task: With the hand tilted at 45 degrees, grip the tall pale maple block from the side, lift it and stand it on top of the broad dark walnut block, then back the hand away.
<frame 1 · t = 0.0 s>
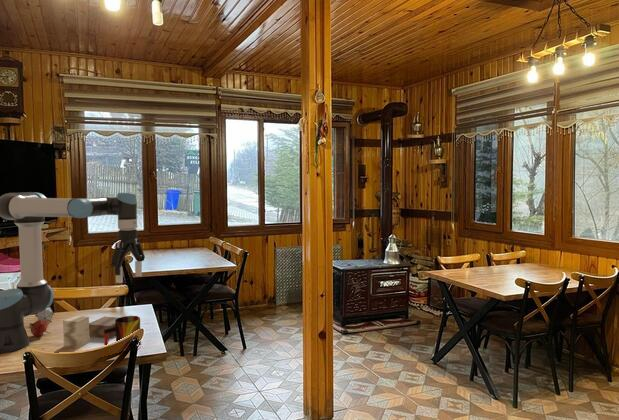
hand: (129, 279, 195), 28 cm above the table, tool pointing down, fingers open, 13 cm apart
maple block: (77, 344, 198), on the table
pomegranate: (40, 336, 209), on the table
mug: (125, 349, 192), on the table
game die: (45, 322, 228), on the table
walnut block: (107, 333, 212), on the table
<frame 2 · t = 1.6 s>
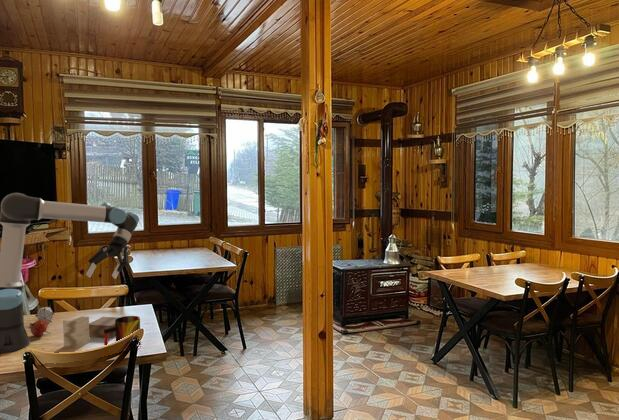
hand: (100, 276, 212), 26 cm above the table, tool tilted 45°, fingers open, 13 cm apart
nothing on the table moved.
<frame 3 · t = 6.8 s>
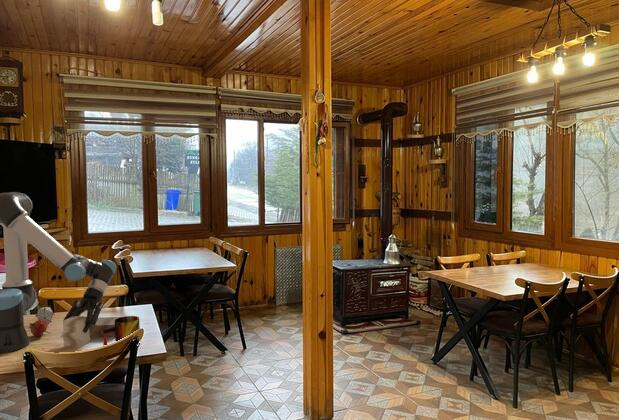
hand: (70, 338, 194), 4 cm above the table, tool tilted 45°, fingers closed on maple block, 7 cm apart
maple block: (77, 343, 198), on the table, touching gripper
when the fingers open (11 cm above the table, at t = 11.8 s): maple block drops 2 cm, resting on walnut block.
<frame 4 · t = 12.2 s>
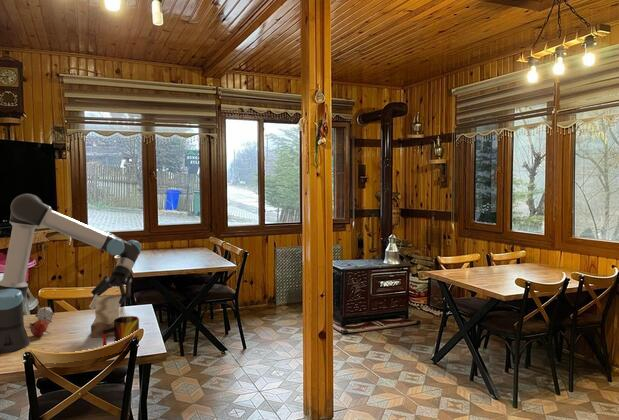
hand: (103, 309, 208), 12 cm above the table, tool tilted 45°, fingers open, 12 cm apart
maple block: (107, 320, 211), point 6 cm above the table, touching walnut block
walnut block: (107, 333, 212), on the table, touching maple block
everything else where it was.
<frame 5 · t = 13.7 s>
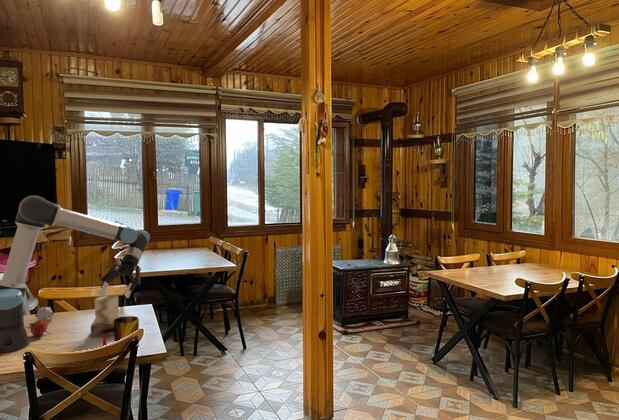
hand: (113, 295, 214), 16 cm above the table, tool tilted 45°, fingers open, 13 cm apart
nothing on the table moved.
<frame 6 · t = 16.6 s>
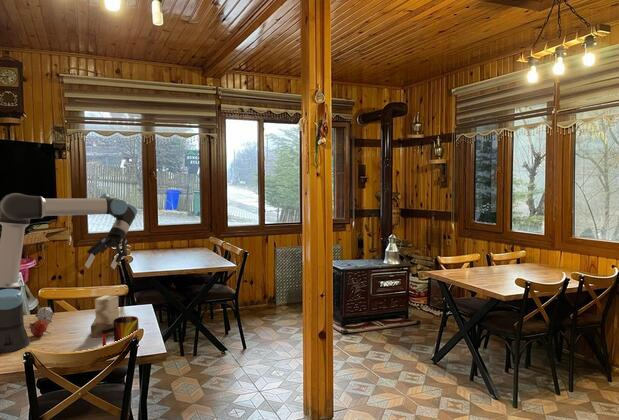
hand: (99, 267, 215), 30 cm above the table, tool tilted 45°, fingers open, 13 cm apart
nothing on the table moved.
at the end: maple block inside the target area on the walnut block (0.5 cm from its centre), point 6.0 cm above the walnut block's base; maple block tilted 0°; the gripper is holding nothing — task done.
